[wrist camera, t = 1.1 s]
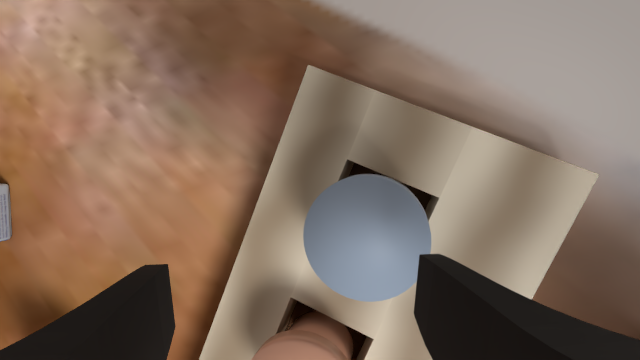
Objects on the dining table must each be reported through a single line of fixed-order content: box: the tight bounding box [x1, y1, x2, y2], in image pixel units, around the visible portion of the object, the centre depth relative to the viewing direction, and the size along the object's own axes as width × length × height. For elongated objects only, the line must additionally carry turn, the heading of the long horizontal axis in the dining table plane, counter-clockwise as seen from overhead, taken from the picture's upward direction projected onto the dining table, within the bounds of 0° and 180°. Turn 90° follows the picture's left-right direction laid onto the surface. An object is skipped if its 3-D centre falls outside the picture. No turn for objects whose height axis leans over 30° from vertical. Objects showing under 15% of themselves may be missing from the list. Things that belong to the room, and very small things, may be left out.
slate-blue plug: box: [303, 174, 431, 302], centre depth 17 cm, size 5×5×5 cm
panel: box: [199, 65, 599, 360], centre depth 21 cm, size 14×28×4 cm, turn 158°
